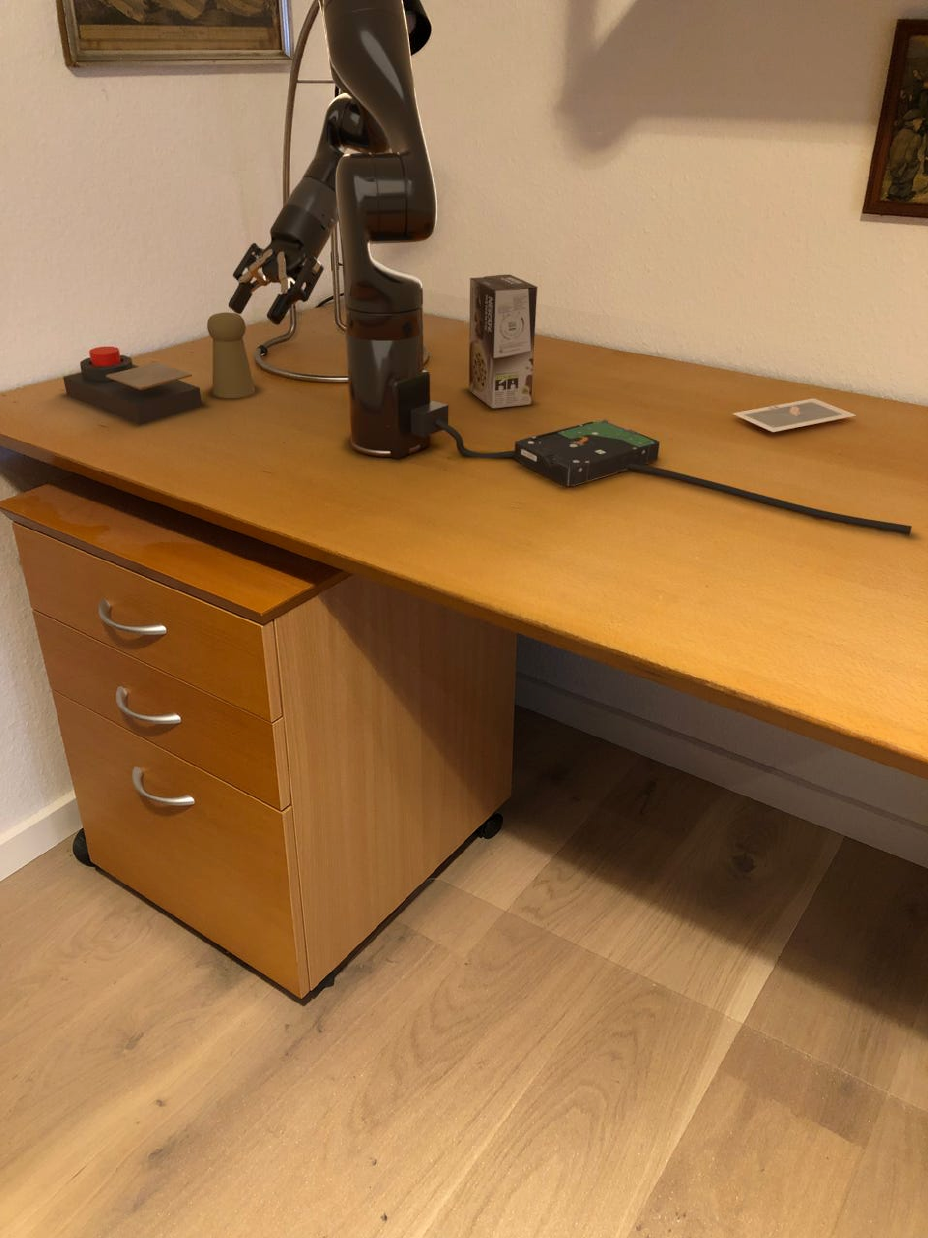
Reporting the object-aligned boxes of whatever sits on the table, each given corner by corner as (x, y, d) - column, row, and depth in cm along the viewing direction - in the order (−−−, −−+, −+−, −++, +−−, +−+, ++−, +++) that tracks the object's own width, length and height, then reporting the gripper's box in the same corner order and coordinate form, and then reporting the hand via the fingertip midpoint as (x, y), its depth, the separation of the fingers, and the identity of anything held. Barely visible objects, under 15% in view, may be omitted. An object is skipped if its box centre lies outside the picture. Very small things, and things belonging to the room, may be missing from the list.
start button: (127, 363, 133) (124, 349, 132) (101, 369, 131) (99, 355, 130) (111, 358, 136) (108, 344, 135) (86, 364, 133) (83, 350, 132)
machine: (202, 406, 131) (198, 374, 128) (139, 425, 124) (133, 391, 122) (128, 379, 140) (123, 349, 138) (66, 395, 134) (60, 363, 132)
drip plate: (191, 376, 128) (191, 373, 128) (140, 389, 122) (140, 387, 122) (157, 364, 132) (157, 362, 132) (106, 377, 127) (105, 374, 127)
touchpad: (854, 422, 129) (858, 407, 127) (771, 439, 123) (774, 423, 122) (812, 405, 135) (815, 390, 133) (730, 421, 129) (733, 405, 127)
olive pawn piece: (260, 386, 139) (252, 309, 133) (248, 399, 134) (239, 320, 128) (220, 384, 139) (210, 307, 133) (206, 397, 134) (196, 318, 128)
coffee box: (533, 404, 133) (539, 286, 125) (491, 409, 131) (494, 289, 123) (507, 385, 140) (511, 272, 132) (466, 390, 138) (468, 275, 130)
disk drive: (569, 491, 108) (659, 461, 116) (570, 468, 107) (661, 439, 114) (512, 462, 115) (600, 436, 123) (512, 441, 114) (602, 415, 121)
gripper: (259, 196, 137) (204, 291, 135) (326, 207, 129) (268, 308, 127) (290, 231, 143) (238, 322, 141) (356, 243, 135) (301, 340, 134)
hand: (252, 315), depth 134 cm, fingers open, 8 cm apart
